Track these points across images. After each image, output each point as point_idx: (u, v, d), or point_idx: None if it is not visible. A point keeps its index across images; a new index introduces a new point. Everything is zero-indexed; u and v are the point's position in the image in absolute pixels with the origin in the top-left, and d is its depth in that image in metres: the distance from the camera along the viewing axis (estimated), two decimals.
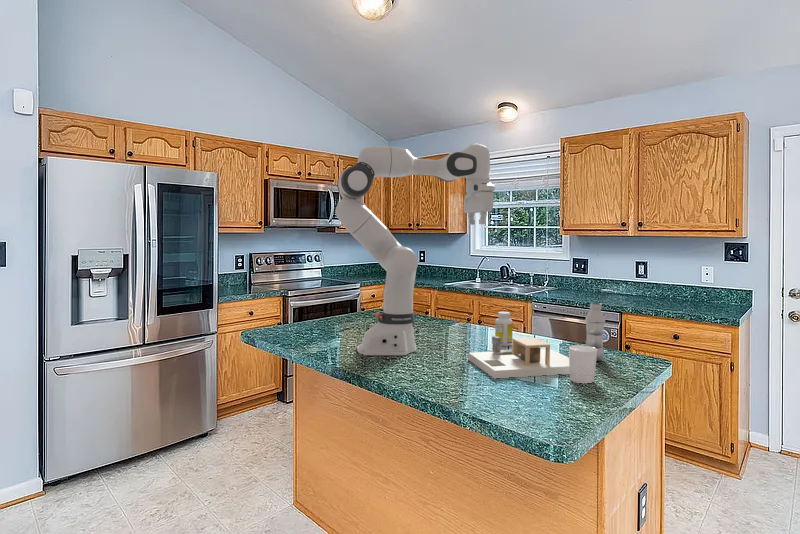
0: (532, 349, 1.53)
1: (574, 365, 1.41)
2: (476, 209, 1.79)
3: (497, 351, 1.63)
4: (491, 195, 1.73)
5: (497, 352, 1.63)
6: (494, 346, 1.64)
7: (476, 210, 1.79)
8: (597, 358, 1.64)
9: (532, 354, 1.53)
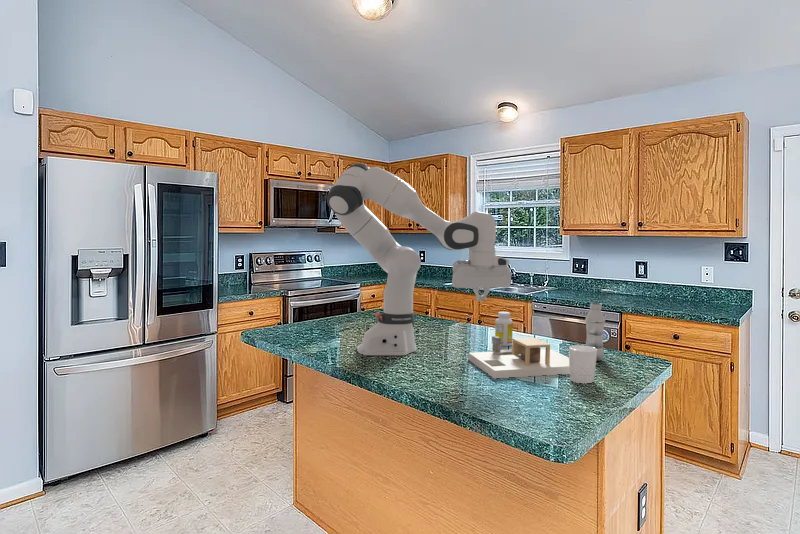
0: (532, 349, 1.53)
1: (574, 365, 1.41)
2: (492, 285, 1.61)
3: (497, 351, 1.63)
4: None
5: (497, 352, 1.63)
6: (494, 346, 1.64)
7: (492, 286, 1.61)
8: (597, 358, 1.64)
9: (532, 354, 1.53)
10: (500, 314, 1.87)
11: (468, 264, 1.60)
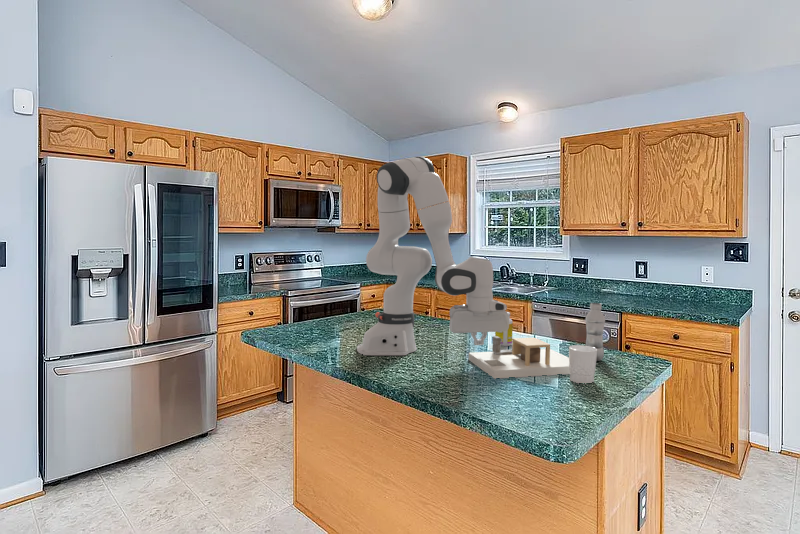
0: (532, 349, 1.53)
1: (574, 365, 1.41)
2: (490, 330, 1.60)
3: (497, 351, 1.63)
4: None
5: (497, 352, 1.63)
6: (494, 346, 1.64)
7: (490, 330, 1.60)
8: (597, 358, 1.64)
9: (532, 354, 1.53)
10: None
11: (465, 309, 1.60)
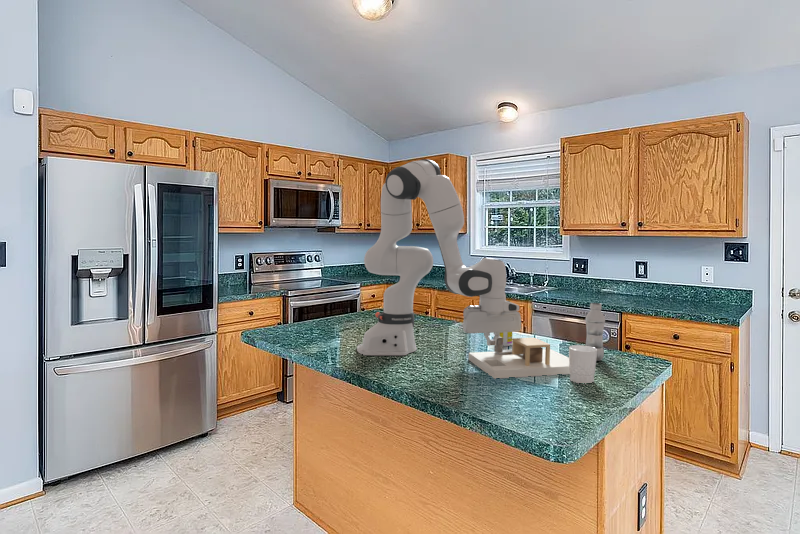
0: (534, 349, 1.53)
1: (574, 365, 1.41)
2: (503, 330, 1.62)
3: (499, 351, 1.63)
4: None
5: (499, 352, 1.63)
6: (496, 346, 1.65)
7: (503, 330, 1.63)
8: (597, 358, 1.64)
9: (535, 354, 1.53)
10: None
11: (479, 309, 1.62)
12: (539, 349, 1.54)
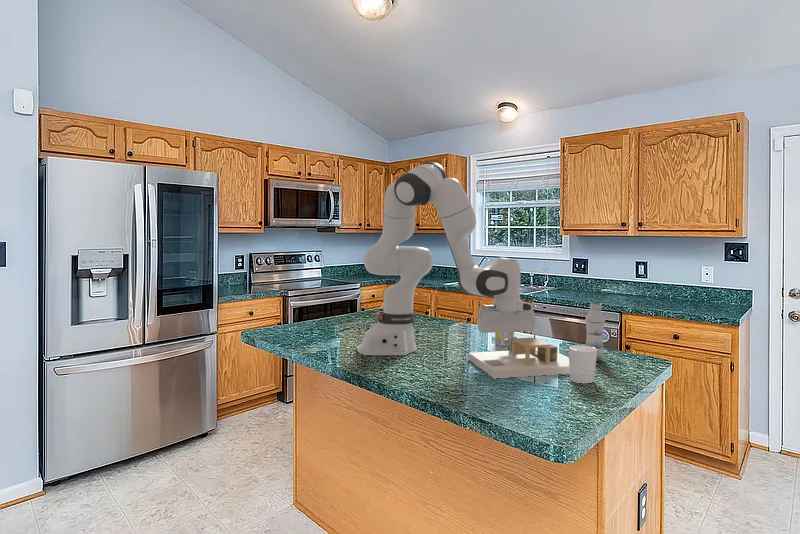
0: None
1: (574, 365, 1.41)
2: (517, 329, 1.64)
3: None
4: None
5: None
6: (510, 345, 1.66)
7: (517, 330, 1.64)
8: (597, 358, 1.64)
9: None
10: None
11: (493, 309, 1.63)
12: (554, 348, 1.55)
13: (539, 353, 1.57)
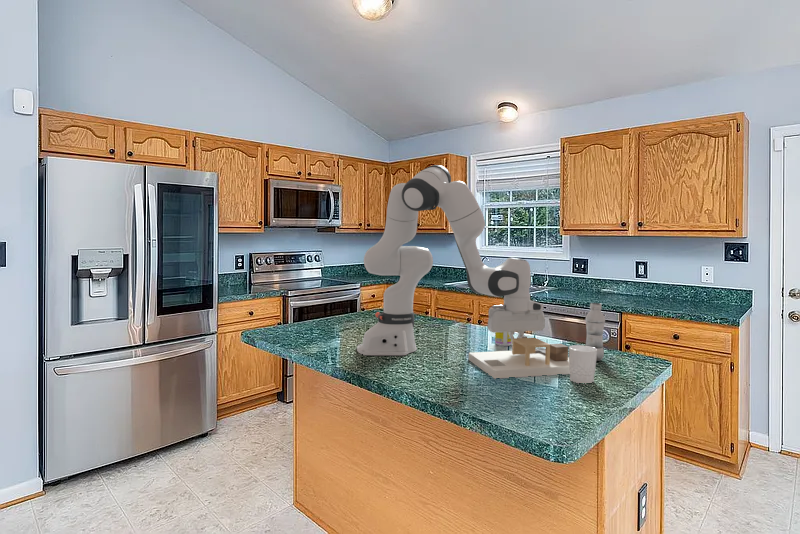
0: (560, 348, 1.55)
1: (574, 365, 1.41)
2: (527, 329, 1.65)
3: None
4: None
5: None
6: None
7: (527, 329, 1.65)
8: (597, 358, 1.64)
9: (560, 353, 1.55)
10: None
11: (503, 309, 1.64)
12: (565, 348, 1.56)
13: (550, 352, 1.58)
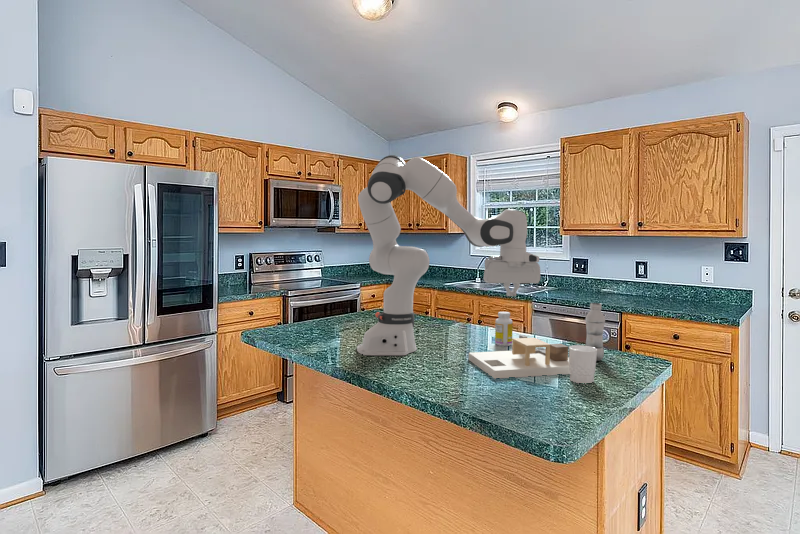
0: (560, 348, 1.55)
1: (574, 365, 1.41)
2: (523, 281, 1.65)
3: None
4: None
5: None
6: None
7: (523, 281, 1.65)
8: (597, 358, 1.64)
9: (560, 353, 1.55)
10: (500, 314, 1.87)
11: (500, 260, 1.64)
12: (565, 348, 1.56)
13: (550, 352, 1.58)
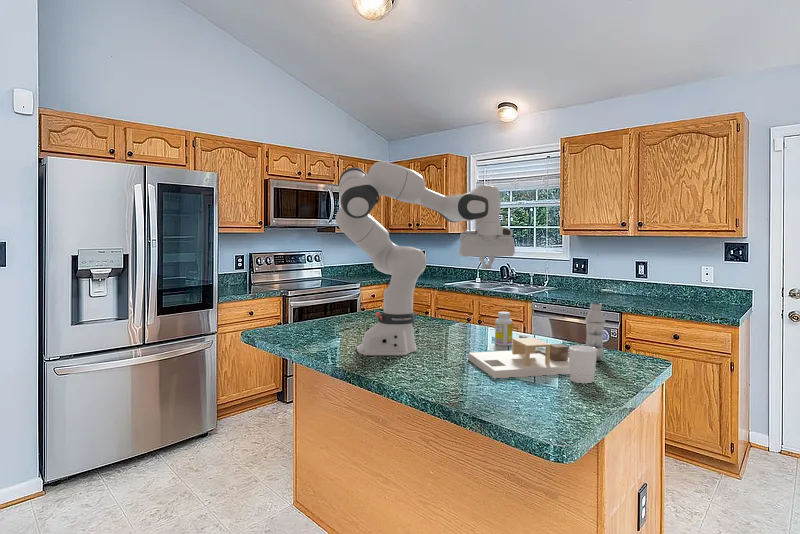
0: (560, 348, 1.55)
1: (574, 365, 1.41)
2: (497, 254, 1.71)
3: None
4: None
5: None
6: None
7: (497, 254, 1.71)
8: (597, 358, 1.64)
9: (560, 353, 1.55)
10: (500, 314, 1.87)
11: (474, 234, 1.70)
12: (565, 348, 1.56)
13: (550, 352, 1.58)
